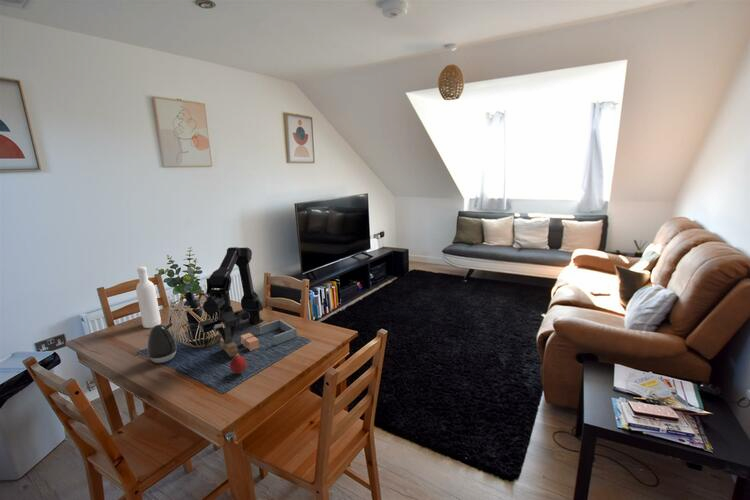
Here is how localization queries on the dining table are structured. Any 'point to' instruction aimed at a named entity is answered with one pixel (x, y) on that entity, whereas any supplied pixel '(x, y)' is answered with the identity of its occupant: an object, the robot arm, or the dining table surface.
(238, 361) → the onion
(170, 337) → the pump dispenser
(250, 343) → the block
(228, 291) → the robot arm
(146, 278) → the bottle
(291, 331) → the box
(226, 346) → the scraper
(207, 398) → the dining table surface
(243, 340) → the block
